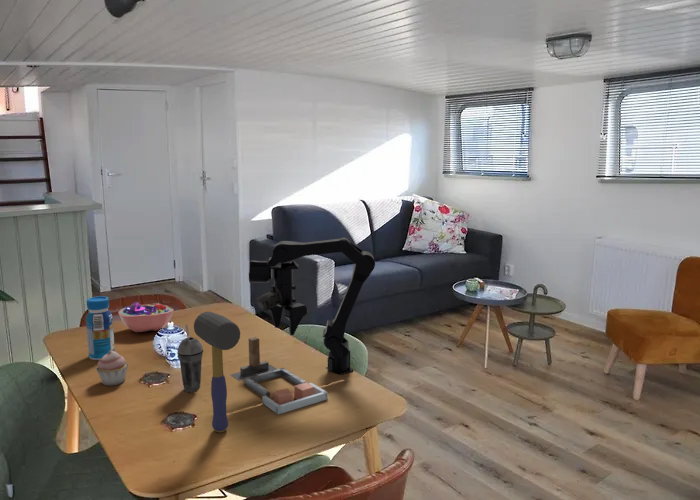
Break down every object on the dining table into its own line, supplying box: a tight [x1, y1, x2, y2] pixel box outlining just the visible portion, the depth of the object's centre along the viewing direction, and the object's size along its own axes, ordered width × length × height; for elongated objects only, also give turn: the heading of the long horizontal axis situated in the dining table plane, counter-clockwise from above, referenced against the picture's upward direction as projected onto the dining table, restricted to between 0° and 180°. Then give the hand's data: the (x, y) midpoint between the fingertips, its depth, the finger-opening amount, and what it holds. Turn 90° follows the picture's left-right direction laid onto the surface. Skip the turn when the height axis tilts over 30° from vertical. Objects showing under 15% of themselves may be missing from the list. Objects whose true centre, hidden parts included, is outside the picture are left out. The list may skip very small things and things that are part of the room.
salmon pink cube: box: [293, 381, 315, 400], centre depth 167 cm, size 4×4×4 cm
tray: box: [261, 382, 329, 415], centre depth 164 cm, size 16×8×2 cm, turn 127°
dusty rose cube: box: [273, 388, 294, 405], centre depth 163 cm, size 4×4×4 cm
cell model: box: [117, 301, 174, 333], centre depth 223 cm, size 17×20×11 cm
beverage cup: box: [177, 324, 204, 393], centre depth 170 cm, size 7×7×20 cm
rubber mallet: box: [193, 311, 241, 433], centre depth 145 cm, size 12×8×30 cm, turn 39°
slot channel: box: [244, 367, 307, 399], centre depth 173 cm, size 13×13×2 cm
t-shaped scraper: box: [239, 336, 270, 377], centre depth 182 cm, size 9×2×11 cm, turn 127°
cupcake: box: [95, 350, 130, 387], centre depth 176 cm, size 9×9×10 cm
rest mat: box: [230, 364, 278, 382], centre depth 183 cm, size 14×6×1 cm, turn 127°
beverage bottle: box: [85, 295, 116, 361], centre depth 196 cm, size 8×8×20 cm
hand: (284, 331), depth 184 cm, fingers open, 9 cm apart
